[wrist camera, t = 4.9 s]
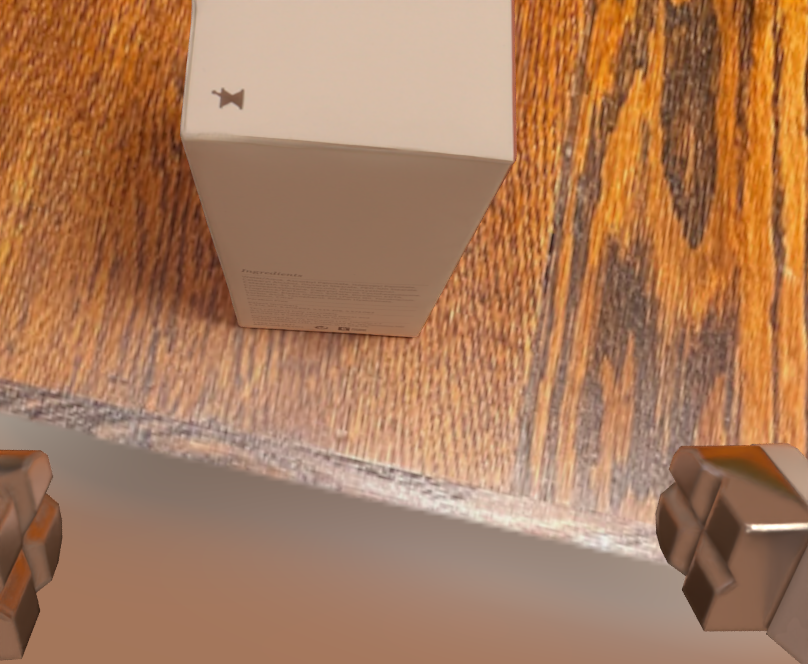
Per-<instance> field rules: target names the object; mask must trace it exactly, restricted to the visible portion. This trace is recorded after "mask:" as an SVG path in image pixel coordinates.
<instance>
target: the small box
mask: <svg viewBox="0 0 808 664" xmlns="http://www.w3.org/2000/svg"><path fill="white" fill-rule="evenodd" d="M180 136H181V139H182V143H183V146H184V150H185V153H186V156H187V159H188V162H189V166H190V169H191V172H192V175H193V179H194V182H195V185H196V188H197V192H198V195H199V198H200V201H201V204H202V207H203V211H204V214H205V218H206V221H207V224H208V227H209V230H210V233H211V237H212V240H213V243H214V246H215V249H216V252H217V255H218V258H219V261H220V264H221V267H222V270H223V273H224V276H225V279H226V282H227V286H228V289H229V293H230V296H231V300H232V305H233V308H234V311H235V314H236V317H237V321H238V325H239V326H241V327H249V328H266V329H285V330H303V331H321V332H339V333H358V334H372V335H387V336H402V337H417V336H418V335H419V334H420V332H421V330H422V328H423V327H424V325H425V323H426V321H427V319H428V318H429V316H430V314H431V312H432V310H433V308H434V306H435V304H436V302H437V301H438V299H439V297H440V295H441V293H442V292H443V290H444V288H445V286H446V284H447V283H448V281H449V279H450V277H451V275H452V274H453V272H454V270H455V268H456V267H457V265H458V263H459V261H460V259H461V257H462V255H463V254H464V252H465V250H466V248H467V246H468V244H469V243H470V241H471V239H472V237H473V235H474V234H475V232H476V230H477V228H478V226H479V224H480V223H481V221H482V219H483V217H484V215H485V213H486V212H487V210H488V208H489V206H490V204H491V202H492V201H493V199H494V197H495V195H496V193H497V192H498V190H499V188H500V186H501V185H502V183H503V181H504V180H505V178H506V176H507V174H508V173H509V171H510V169H511V167H512V165H513V164H514V162H515V161H516V156H517V155H516V77H515V14H514V0H192V17H191V29H190V38H189V50H188V58H187V67H186V77H185V87H184V97H183V107H182V116H181V125H180Z"/></svg>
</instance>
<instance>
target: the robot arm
mask: <svg viewBox="0 0 808 664" xmlns="http://www.w3.org/2000/svg"><path fill="white" fill-rule="evenodd" d="M669 471H670V472H671V474H672V476H673V478H674V480H675V482H674V483H673V484H672V485H671V486H670V487H669V488H668V489H666V490H665V491H664V492H663V493H662V494H661V495H660V499H659V503H658V506H657V510H656V534H657V538H658V541H659V545H660V548H661V550H662V552H663V554H664V556H665V558H666V560H667V562H668V564H670V565H671V566H673V567H674V568H675V569H677V570H678V571H680V572H681V573H682V574H684V575H685V576H686V578H685V581H684V584H683V588H682V591H683V593H684V595H685V597H686V598H687V600H688V602H689V604H690V606H691V607H692V610H693V612H694V613H695V615H696V617H697V619H698V621H699V623H700V625H701V626H702V628H703V630H704V631H767V633H766V634H767V635H768V636H769V637H770V638H771V639H773V640H774V641H775V642H776V643H777V644H778V645H780V646H781V647H782V648H783V649H784V650H785V651H787V652H788V653H789V654H790V655H792V656H793V657H794V658H795V659H796V660H797V661H798V662H799V663H801V664H808V460H807V459H806V458H805V457H804V455H803V454H802V453H801V452H800V451H799V450H798V449H797V448H795V447H794V446H792V445H790V444H788V443H773V444H751V445H727V446H681V447H680V448H679V449H678V450H677V452H676V453H675V454H674V456H673V459H672V462H671V464H670V467H669ZM52 478H53V475H52V470H51V466H50V462H49V458H48V455H47V454H45V453H44V452H42V451H41V450H0V660H12V659H22V657H23V654H24V651H25V649H26V646H27V643H28V641H29V638H30V636H31V633H32V631H33V628H34V625H35V623H36V620H37V617H38V615H39V613H40V608H39V604H38V599H37V595H36V593H37V592H38V591H39V590H40V589H41V588H43V587H44V586H45V585H46V584H48V583H49V582H50V581H51V580H52V578H53V575H54V572H55V570H56V567H57V564H58V561H59V554H60V548H61V542H62V518H61V513H60V508H59V504H58V503H57V502H56V501H55V500H53V499H52V498H51V497H50V496H49V495H48V494H46V492H47V489H48V487H49V485H50V482H51V480H52Z"/></svg>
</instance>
